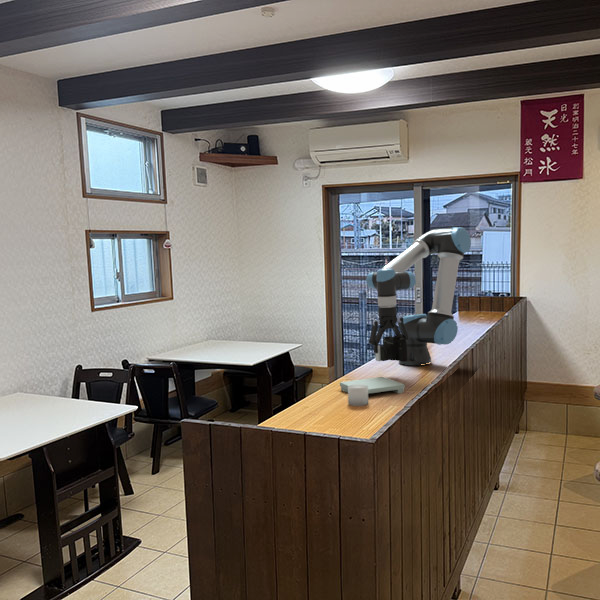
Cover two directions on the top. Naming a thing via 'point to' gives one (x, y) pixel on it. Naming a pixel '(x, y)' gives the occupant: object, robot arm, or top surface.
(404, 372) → the top surface
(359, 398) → the grey rounded block
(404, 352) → the camera
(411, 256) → the robot arm
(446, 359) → the top surface
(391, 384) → the stand
